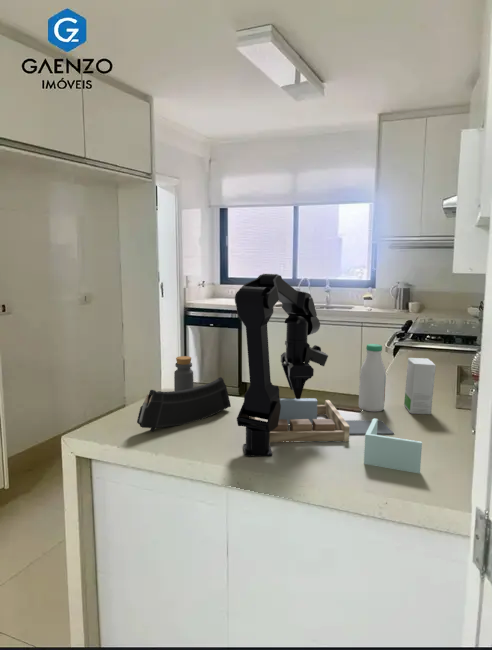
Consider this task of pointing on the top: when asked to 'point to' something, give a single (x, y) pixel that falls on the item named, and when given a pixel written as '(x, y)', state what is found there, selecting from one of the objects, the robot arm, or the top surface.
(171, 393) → the magazine
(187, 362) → the bottle
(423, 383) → the skincare box
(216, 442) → the top surface
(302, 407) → the light blue rectangular panel
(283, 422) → the offcut
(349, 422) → the mat
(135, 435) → the top surface
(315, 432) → the frame
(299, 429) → the offcut
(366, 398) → the milk bottle
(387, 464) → the l-shaped corner panel
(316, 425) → the offcut
